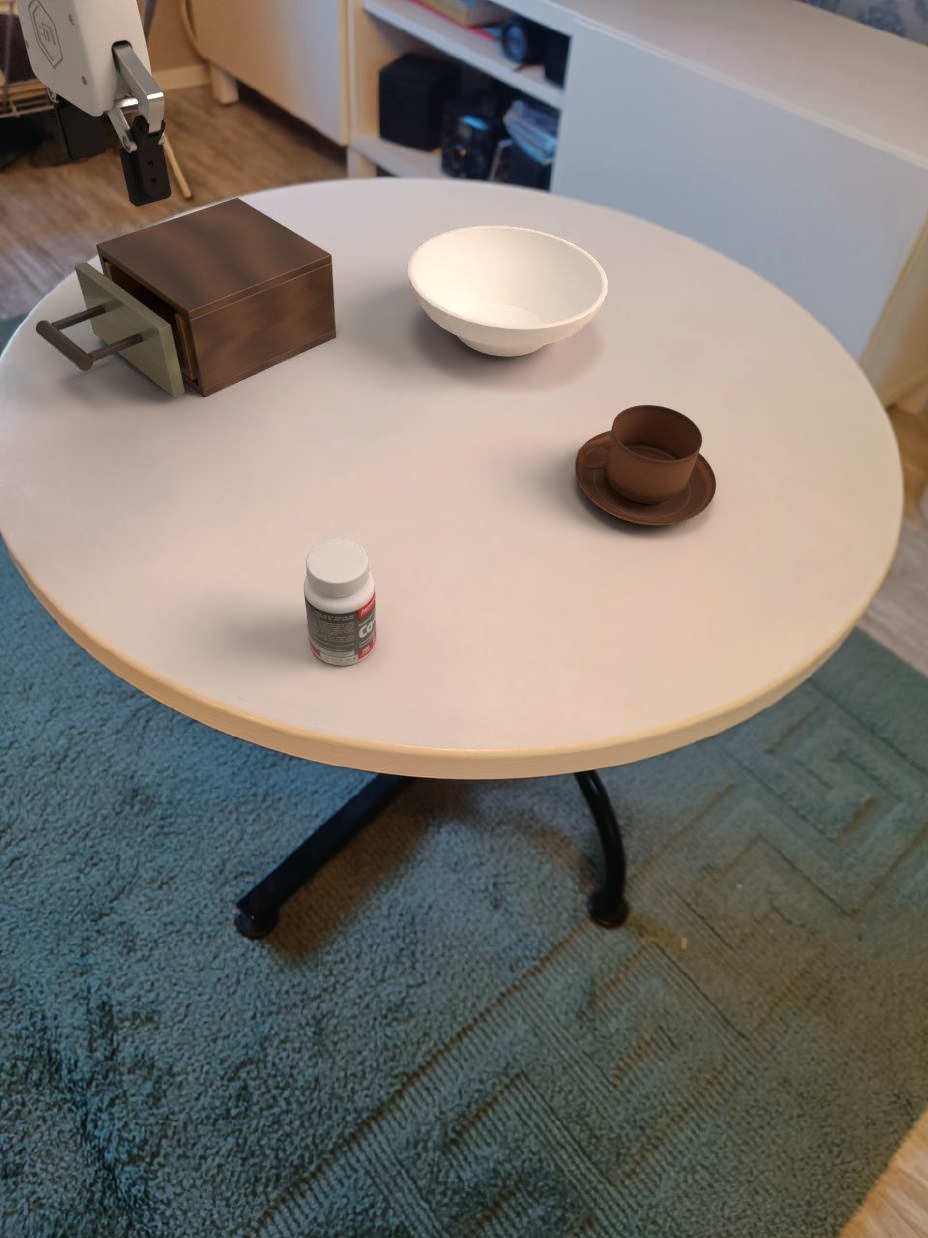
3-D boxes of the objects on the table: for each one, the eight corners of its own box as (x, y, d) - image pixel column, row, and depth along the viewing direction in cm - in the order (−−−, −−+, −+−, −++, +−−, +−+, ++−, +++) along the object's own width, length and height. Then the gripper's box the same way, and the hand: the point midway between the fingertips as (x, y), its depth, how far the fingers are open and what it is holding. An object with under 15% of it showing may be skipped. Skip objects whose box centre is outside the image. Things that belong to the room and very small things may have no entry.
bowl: (629, 332, 91) (644, 270, 86) (528, 418, 80) (537, 354, 75) (478, 267, 98) (483, 206, 93) (366, 339, 87) (365, 275, 82)
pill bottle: (373, 669, 61) (371, 589, 54) (305, 666, 61) (296, 585, 54) (378, 617, 64) (377, 536, 57) (314, 614, 64) (305, 532, 57)
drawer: (111, 425, 74) (90, 356, 69) (32, 356, 80) (7, 288, 75) (301, 339, 85) (296, 273, 79) (220, 284, 90) (210, 219, 85)
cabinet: (204, 397, 79) (188, 311, 73) (117, 329, 85) (95, 244, 79) (336, 336, 87) (332, 254, 80) (247, 278, 93) (237, 196, 86)
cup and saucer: (616, 553, 70) (633, 496, 65) (547, 462, 77) (557, 404, 72) (737, 517, 74) (761, 461, 69) (661, 433, 80) (678, 376, 76)
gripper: (-63, -128, 57) (20, 149, 70) (64, -64, 49) (132, 234, 62) (47, -136, 60) (107, 129, 73) (182, -78, 53) (222, 206, 66)
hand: (118, 177), depth 68 cm, fingers open, 9 cm apart
